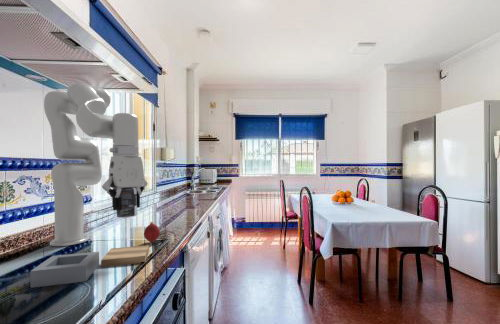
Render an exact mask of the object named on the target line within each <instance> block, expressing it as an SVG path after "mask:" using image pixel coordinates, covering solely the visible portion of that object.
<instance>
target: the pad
mask: <svg viewBox="0 0 500 324" xmlns="http://www.w3.org/2000/svg"><path fill="white" fill-rule="evenodd" d="M149 253H150V244H148V245H147V244H146V245H136V246H126V247H125V246H123V247H113V248H110V249H109V250H108V251H107V253H106V254H105V255H104V256H103V257H102V258H101V259H100V263H101V264H100V267H101V268H105V267H106V266H107V267H114V266H115V267H116V266H124V265H125V264H126V265H133V264H135V265H136V264H142V263H141V262H145V263H146V262H147V259H146V258H148V256H149ZM147 255H148V256H147ZM123 264H124V265H123Z"/></svg>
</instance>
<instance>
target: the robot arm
mask: <svg viewBox="0 0 500 324" xmlns="http://www.w3.org/2000/svg"><path fill="white" fill-rule="evenodd" d="M111 102H112V101H111V95H110V93H109V92H108V90H107V89H105V88H104V87H101V86H100V87H99V86H96V85H91V84H88V83H83V82H82V83H81V82H75V83H72V84H71V85H69V86H68V88H67V90H66V91H63V90H52V91H48V92H47V93H46V94H45V96H44V99H43V110H44V114H45V116H46V119H47V121H48V123H49V127H50V132H51V142H52V150H53V155H54V157H55V158H56V159H58V160H61V161H82V162H60V163H58V164H55V165H54V166H53V167H52V169H51V172H50V176H51V180H52V181H51V182H52V187H53V193H54V194H53V196H54V201H53V203H54V239H52V240H50V241H49V246H51V247H68V246H74V245H78V244H82V243H85V242H87V241H88V240H89V237H88V236H87V235H84V196H83V194H82V191H80V189H78V187H85V186H94V185H97V184H99V183H100V182H101V181H102V180H101V179H102V177H103V175H102V173H103V171H102V164H101V157H100V148H99V146H98V143H97V142H96V141H95V140H93V139H91V138H84V137H79V136H78V134H77V133H78V132H77V126H78V127H79V129H81V131H82V132H83V133H84V134H85V135H87V136H88V137H92V138H98V139H99V138H100V139H111V140H112V147H110V148H109V152H110V153H112V156H111V157H110V160H109V168H108V178H107V180H106V181H105V182H104V183H103V184H102V185H101V188H102V189H103V190H104V191H105V192H106V193H107V194H108V195H109V196H110V198H111V199H112V200H111V201H112V205H111V206H112V209H113V211H116V212H117V211H120V210H121V197H119V196H120V193H121V190H122V188H132V187H135V188H136V190H137V209H138V208H140V207H141V195H142V193H143V191H145V188H146V187H147V186H148V184H149V183H148V181H147V180H145V172H144V171H145V170H144V164H143V160H142V157H141V156H140V154H139V153H140V151H139V150H140V149H139V117H138V116H137V115H136V114H133V113H128V112H127V113H126V112H119V113H115V114H113V116H112V115H107V114H105V113H106V110H107V109H108V107H109V106H110V105H111ZM67 114H68V115H75V119H76V124H77V126H76V125H75V123H74V122H73V120H72V119H71V118H70V117H69V116H67Z"/></svg>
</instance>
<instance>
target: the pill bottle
mask: <svg viewBox="0 0 500 324" xmlns="http://www.w3.org/2000/svg"><path fill="white" fill-rule="evenodd" d="M119 197H121V210H120V211H117V210H116V218H133V217H136V216H137V215H138V208H137V190H136V188H135V187H132V188H122V190H121V193H120V196H119Z"/></svg>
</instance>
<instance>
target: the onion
mask: <svg viewBox="0 0 500 324" xmlns="http://www.w3.org/2000/svg"><path fill="white" fill-rule="evenodd" d="M143 232H144V233H143V237H144V239H145V240H147V241H148V242H149V243H151V244H152V243H153V244H154V243H155V241H156V240H158V238H159V237H160V235H161V230H160V228H159V226H158V225H156V224H155V223H154V222H153V221H150V223H149V225H147V226H146V227H145V229H144V231H143Z"/></svg>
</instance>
